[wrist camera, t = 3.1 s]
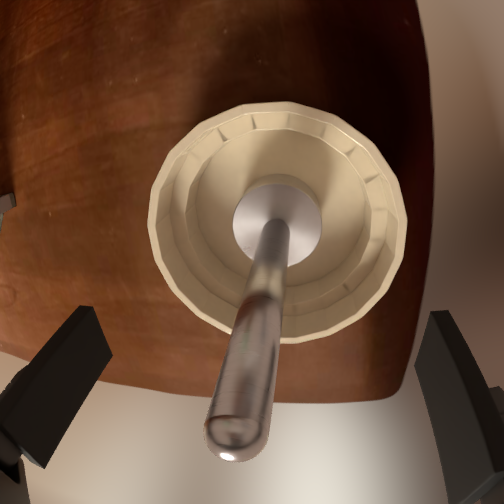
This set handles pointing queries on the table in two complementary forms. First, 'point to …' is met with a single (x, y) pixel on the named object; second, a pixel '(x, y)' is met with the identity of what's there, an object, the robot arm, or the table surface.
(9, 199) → the cabinet
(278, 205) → the rod with disc base
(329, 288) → the mixing bowl
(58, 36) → the table surface
